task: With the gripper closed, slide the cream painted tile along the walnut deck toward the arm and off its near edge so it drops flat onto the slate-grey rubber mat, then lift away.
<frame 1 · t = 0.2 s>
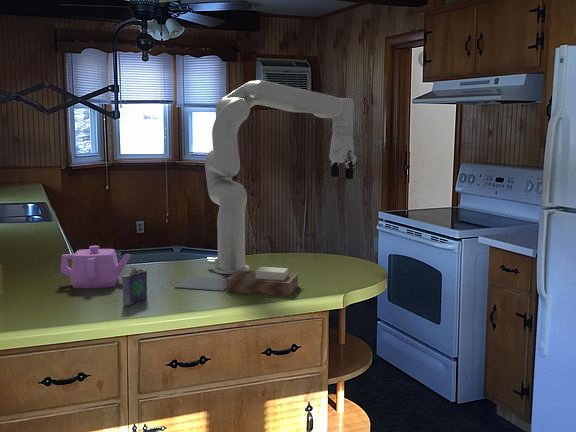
hand: (341, 177, 248), 31 cm above the worktop, tool pointing down, fingers open, 9 cm apart
flask: (135, 303, 192), on the worktop
teakettle: (97, 283, 215), on the worktop
tile: (271, 277, 207), point 4 cm above the worktop, touching deck
mat: (206, 284, 214), on the worktop
deck: (262, 288, 209), on the worktop
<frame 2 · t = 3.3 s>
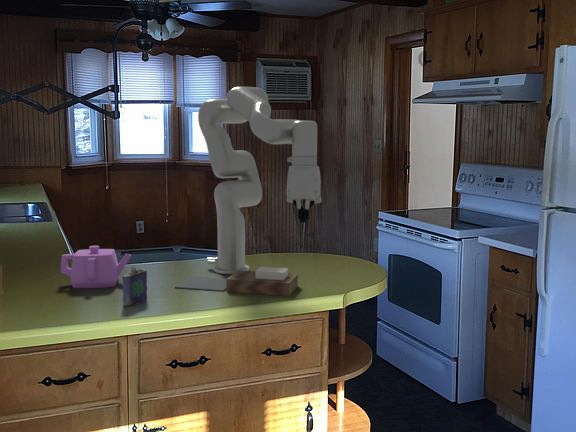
hand: (303, 221, 202), 22 cm above the worktop, tool pointing down, fingers closed
nothing on the worktop moved.
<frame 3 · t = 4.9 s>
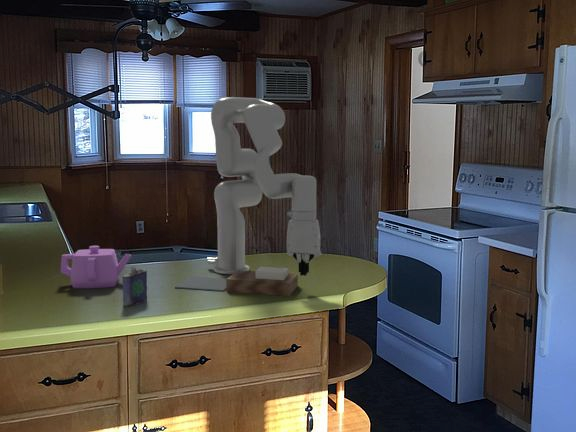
hand: (303, 274, 205), 5 cm above the worktop, tool pointing down, fingers closed
nothing on the worktop moved.
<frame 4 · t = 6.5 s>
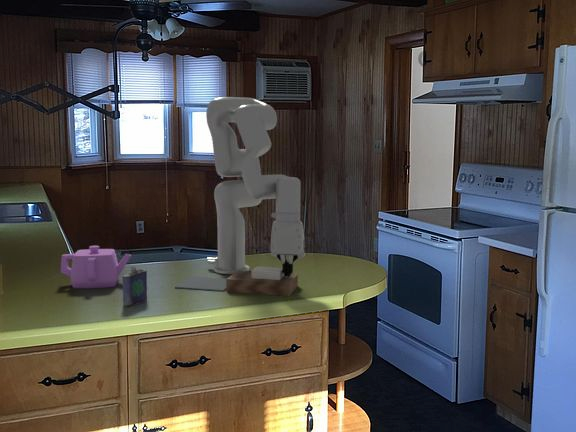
hand: (287, 275, 206), 5 cm above the worktop, tool pointing down, fingers closed
tile: (268, 276, 207), point 4 cm above the worktop
everything else where it was.
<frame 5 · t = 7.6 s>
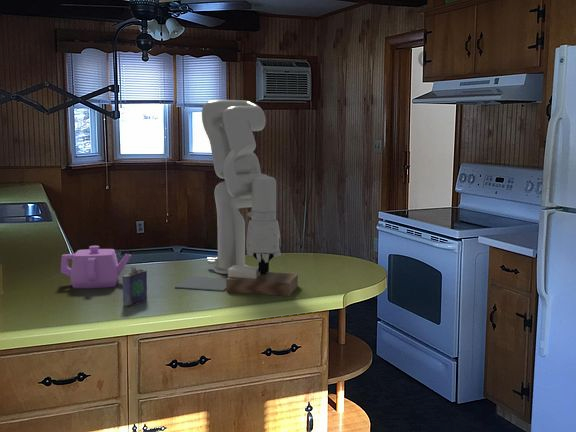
hand: (263, 273, 208), 5 cm above the worktop, tool pointing down, fingers closed
tile: (244, 275, 209), point 4 cm above the worktop, touching gripper
everything else where it was.
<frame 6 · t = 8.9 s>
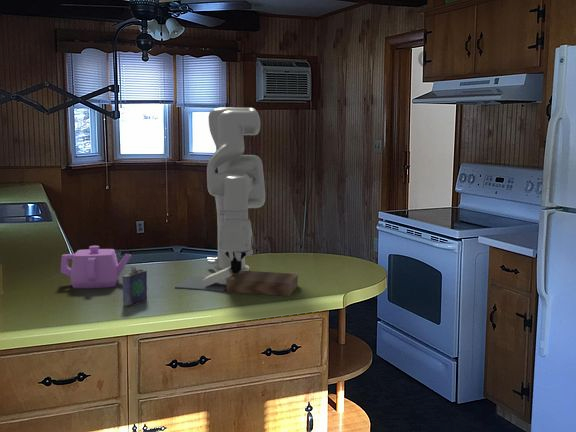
hand: (236, 272, 210), 5 cm above the worktop, tool pointing down, fingers closed
tile: (221, 279, 211), point 2 cm above the worktop, tilted 25°, touching gripper
everything else where it was.
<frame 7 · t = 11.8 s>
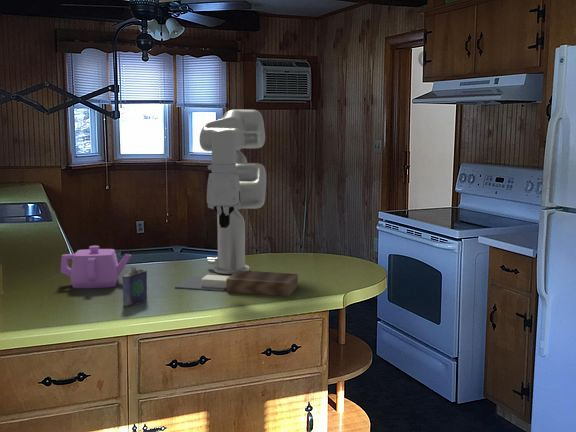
hand: (224, 227, 209), 19 cm above the worktop, tool pointing down, fingers closed
tile: (217, 285, 211), resting on mat
everything else where it was.
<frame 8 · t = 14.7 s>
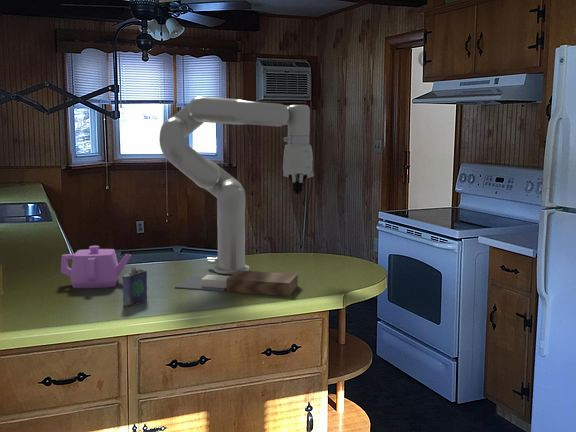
hand: (298, 193, 231), 27 cm above the worktop, tool pointing down, fingers closed
nothing on the worktop moved.
at the end: tile inside the target area (4.6 cm from its centre), resting on mat; tile moved 18.1 cm from its start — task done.
